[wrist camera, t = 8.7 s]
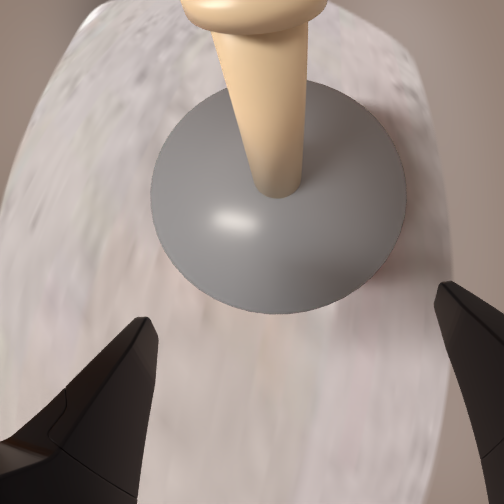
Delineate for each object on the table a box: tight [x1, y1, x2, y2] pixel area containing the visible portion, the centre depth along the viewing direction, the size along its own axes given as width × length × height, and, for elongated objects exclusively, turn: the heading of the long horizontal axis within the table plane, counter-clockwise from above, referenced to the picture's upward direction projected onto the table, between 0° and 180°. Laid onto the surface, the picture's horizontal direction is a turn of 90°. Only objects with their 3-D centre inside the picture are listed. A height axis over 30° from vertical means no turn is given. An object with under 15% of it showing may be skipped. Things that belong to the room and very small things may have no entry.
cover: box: [150, 0, 407, 314], centre depth 11 cm, size 14×14×13 cm
